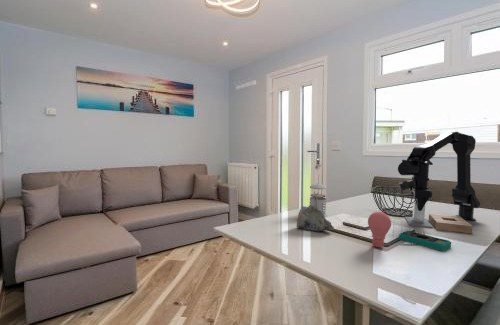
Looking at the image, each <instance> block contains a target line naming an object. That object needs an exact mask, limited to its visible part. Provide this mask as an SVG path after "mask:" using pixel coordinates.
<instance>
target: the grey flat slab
mask: <svg viewBox="0 0 500 325" xmlns="http://www.w3.org/2000/svg"><path fill="white" fill-rule="evenodd" d="M404 218H405V221H406V222H407V224H408V226H410V227H411V226H412V227H419V228H427V229H433V228H434V226H433V224H432V223H431V222H430V221H429V219H427V218H424V223H419V222H413V220H412V218H413V216H405V217H404Z"/></svg>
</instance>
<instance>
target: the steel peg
mask: <svg viewBox="0 0 500 325" xmlns="http://www.w3.org/2000/svg"><path fill="white" fill-rule="evenodd" d="M412 206H413V207H412V217H413V218H412V220H413V222H419V223H424V219H425V216H426V215H425V212H426V205H425V206H424V207H423V209H422V211H418V205H417V203H415V202H413V203H412Z"/></svg>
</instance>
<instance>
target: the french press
mask: <svg viewBox="0 0 500 325" xmlns="http://www.w3.org/2000/svg"><path fill="white" fill-rule="evenodd" d="M316 167H318V168H320V167H322V164H320V163H318V164H316ZM317 180H318V183H315V184H312V185H310V186H309V189H313V190H314V191H313V193H312V194H310V196H311V197H309V206H312V205H313V206H314V207H315V208H317V209H318V210H320V211H321V212H322V213H323V214H324V216H325V218H327V217H328V214H327V209H326V208H327V198H326V195H325V194H322V193H321V194H319V193H320V192H319V191H317V193H316V191H315V190H326V189H327V186H325V185H323V184H321V183H320V175H318V177H317Z"/></svg>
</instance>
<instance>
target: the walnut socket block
mask: <svg viewBox="0 0 500 325" xmlns="http://www.w3.org/2000/svg"><path fill="white" fill-rule="evenodd" d="M428 222H429V223H430V224H431V225H432V227H433V228H435V229H436V230H441V231H448V232H456V233H467V234H473V225H472V224H471V223H470V222H468V220H465V219H463V218H462V217H460V216H456V215H447V214H437V213H428Z"/></svg>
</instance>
